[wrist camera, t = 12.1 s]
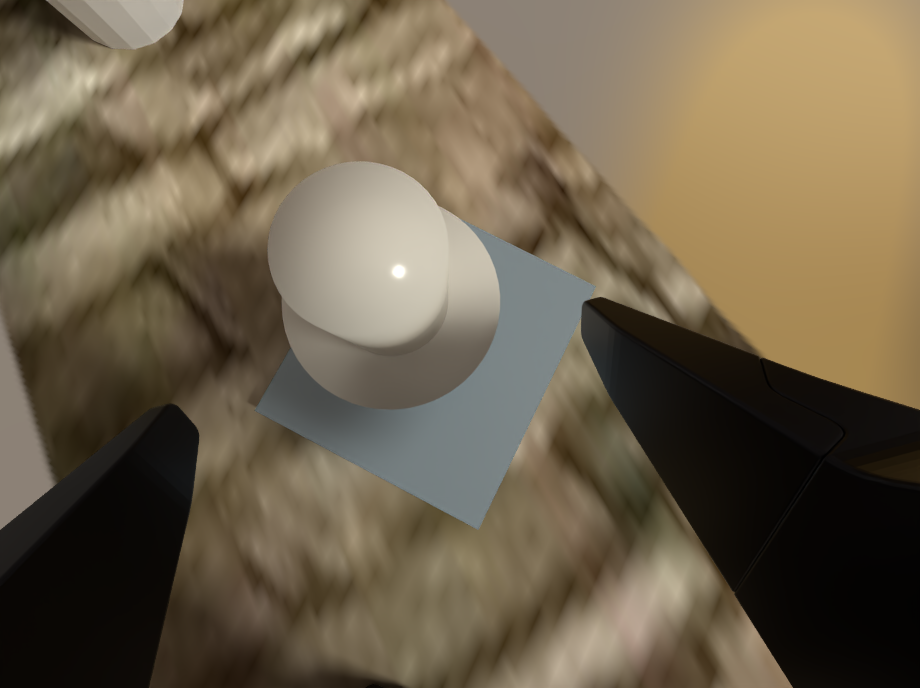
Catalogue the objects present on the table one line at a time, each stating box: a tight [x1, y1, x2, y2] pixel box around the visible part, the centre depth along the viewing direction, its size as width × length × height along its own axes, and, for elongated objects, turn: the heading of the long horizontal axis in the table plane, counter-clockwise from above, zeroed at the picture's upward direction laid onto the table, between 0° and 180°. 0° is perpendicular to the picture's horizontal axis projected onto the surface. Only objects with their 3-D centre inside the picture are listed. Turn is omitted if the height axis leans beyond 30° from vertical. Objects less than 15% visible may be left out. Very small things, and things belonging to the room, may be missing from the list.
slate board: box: [255, 219, 596, 529], centre depth 19 cm, size 12×11×1 cm
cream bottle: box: [267, 161, 500, 410], centre depth 12 cm, size 5×5×12 cm
